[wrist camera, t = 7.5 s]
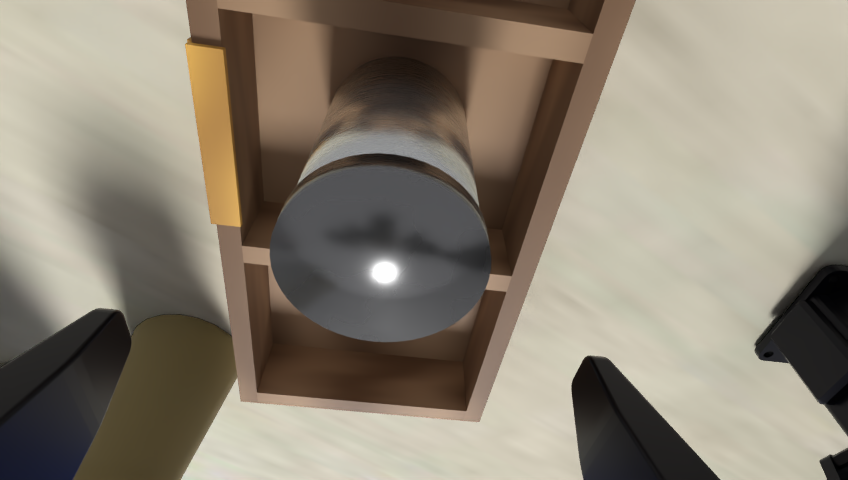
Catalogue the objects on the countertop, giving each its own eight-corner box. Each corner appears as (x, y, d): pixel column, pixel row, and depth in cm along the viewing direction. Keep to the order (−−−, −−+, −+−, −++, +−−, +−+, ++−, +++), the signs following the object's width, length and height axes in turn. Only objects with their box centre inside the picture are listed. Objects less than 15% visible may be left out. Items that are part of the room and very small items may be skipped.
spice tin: (454, 194, 20) (467, 351, 13) (325, 178, 19) (274, 331, 13) (481, 65, 17) (515, 187, 10) (328, 42, 16) (262, 155, 10)
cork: (107, 337, 27) (-51, 567, 18) (188, 299, 25) (58, 533, 16) (188, 396, 30) (89, 616, 21) (266, 366, 28) (193, 592, 19)
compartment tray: (713, -406, 11) (835, -523, 8) (473, 358, 27) (479, 425, 24) (183, -534, 10) (65, -731, 7) (259, 337, 26) (235, 404, 23)
